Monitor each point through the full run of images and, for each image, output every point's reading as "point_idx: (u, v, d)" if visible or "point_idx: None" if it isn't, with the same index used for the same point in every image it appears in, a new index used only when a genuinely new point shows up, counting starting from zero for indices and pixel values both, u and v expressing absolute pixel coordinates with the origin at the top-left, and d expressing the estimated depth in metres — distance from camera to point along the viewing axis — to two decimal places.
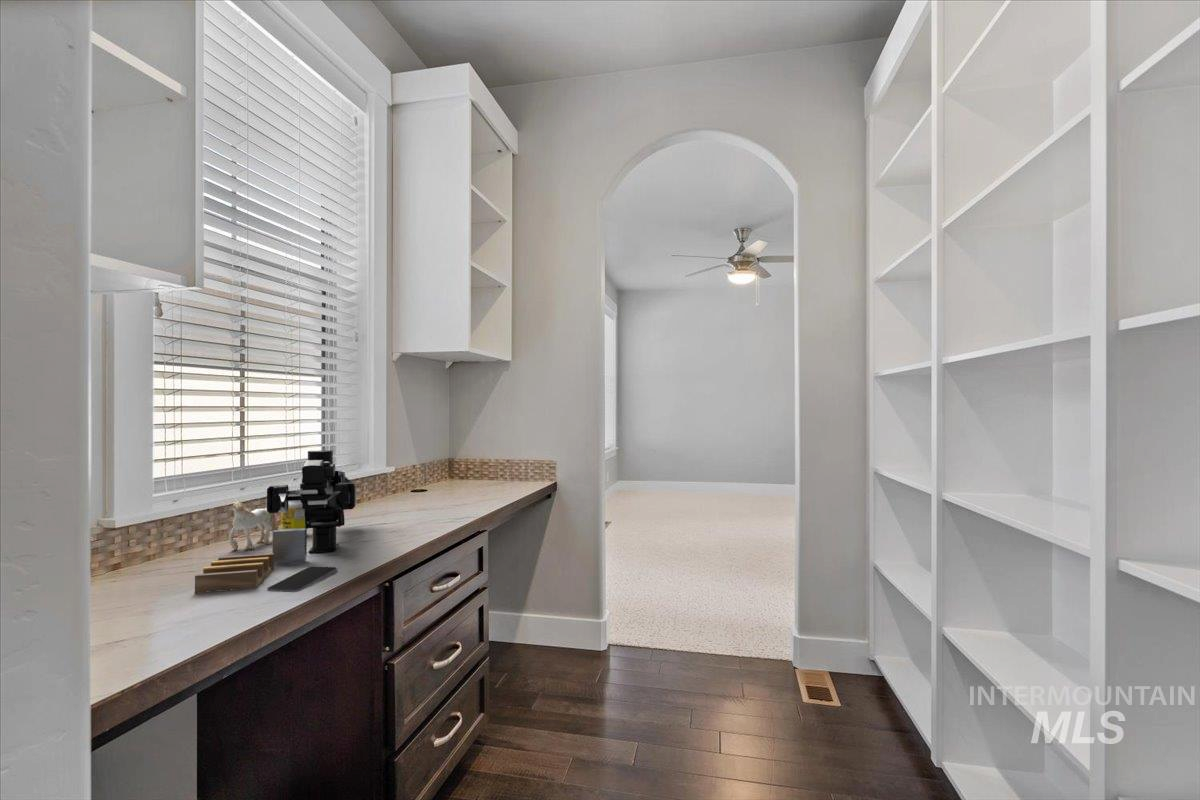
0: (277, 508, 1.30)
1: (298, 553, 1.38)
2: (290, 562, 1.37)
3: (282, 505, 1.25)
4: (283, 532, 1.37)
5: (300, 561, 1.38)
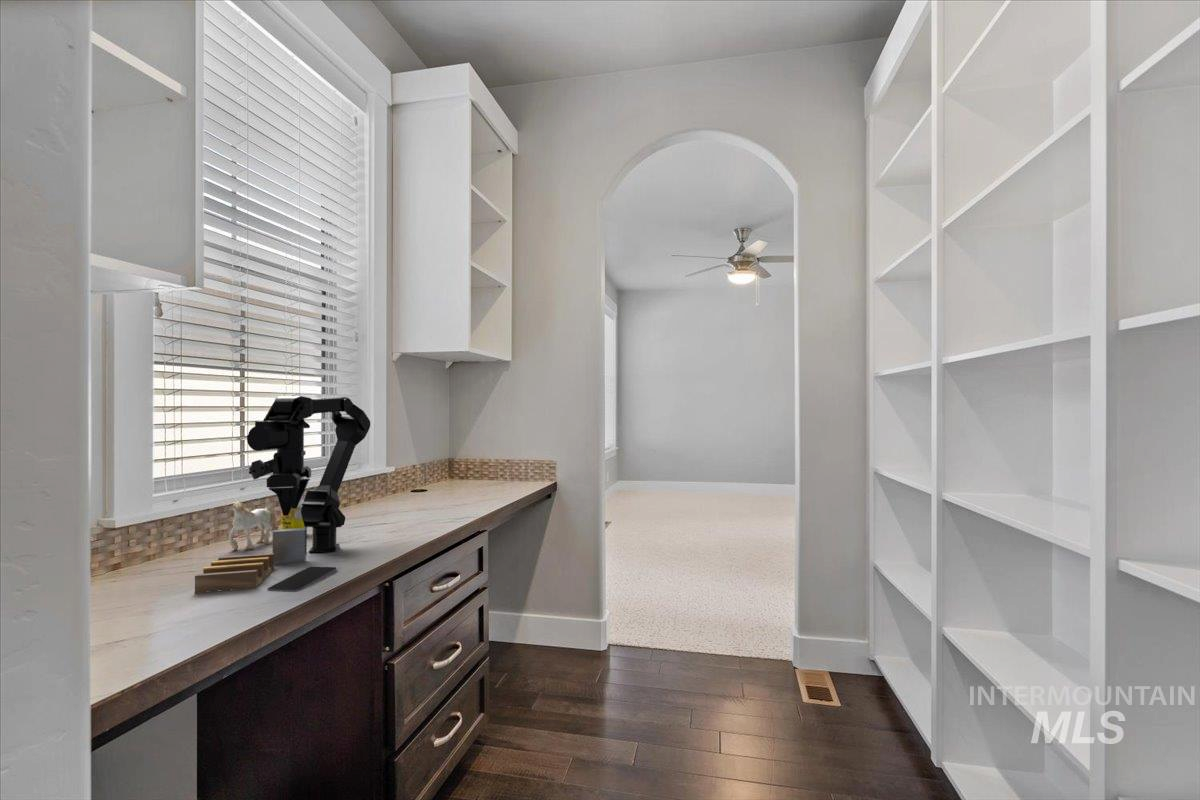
0: None
1: (298, 553, 1.38)
2: (290, 562, 1.37)
3: None
4: (283, 532, 1.37)
5: (300, 561, 1.38)
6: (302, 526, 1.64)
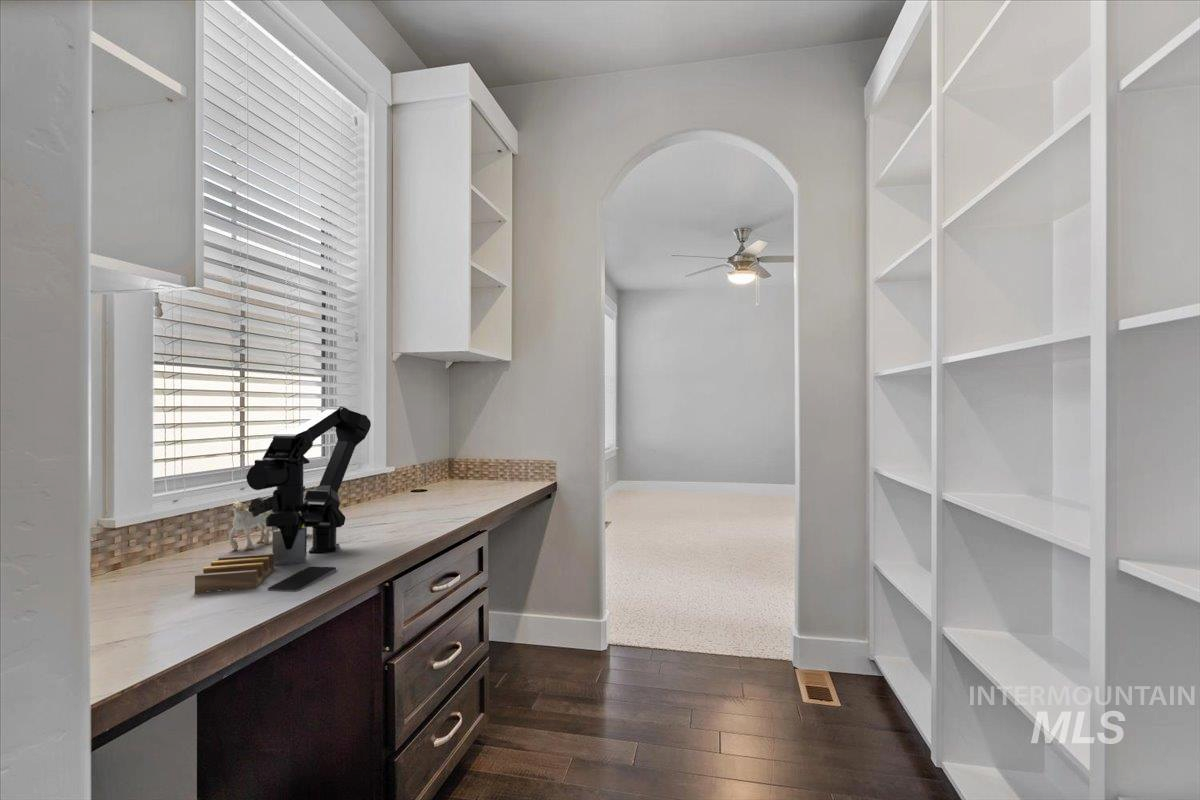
0: None
1: (298, 553, 1.38)
2: (290, 562, 1.37)
3: None
4: None
5: (300, 561, 1.38)
6: (302, 526, 1.64)
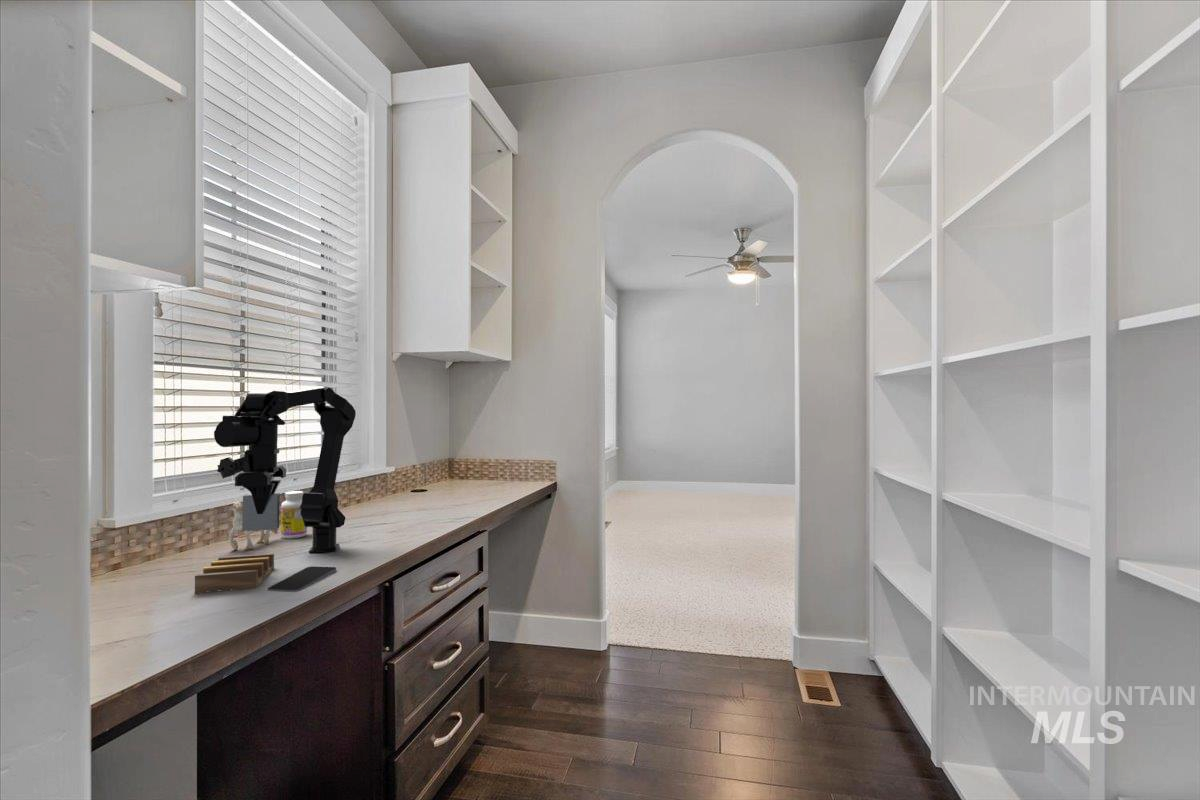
0: None
1: (270, 519, 1.30)
2: (261, 528, 1.30)
3: None
4: None
5: (272, 527, 1.30)
6: (302, 526, 1.64)
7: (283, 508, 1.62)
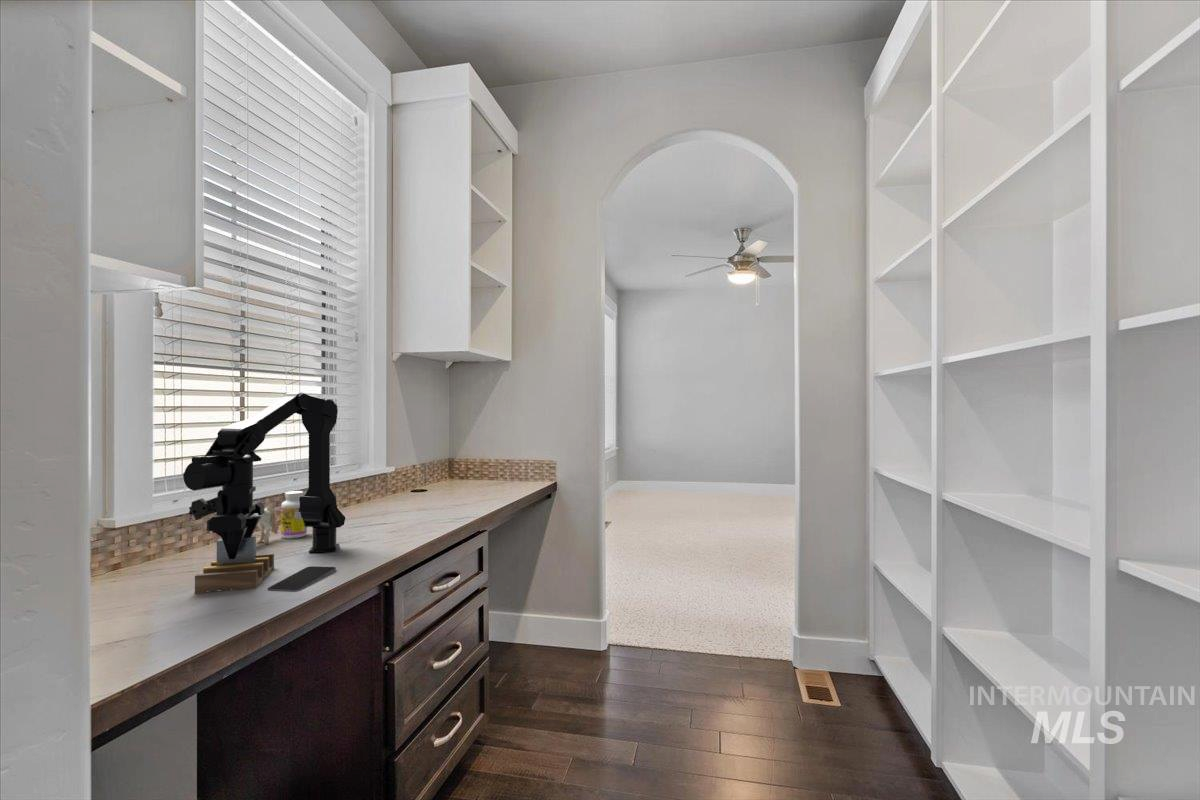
0: None
1: None
2: None
3: None
4: None
5: None
6: (302, 526, 1.64)
7: (283, 508, 1.62)
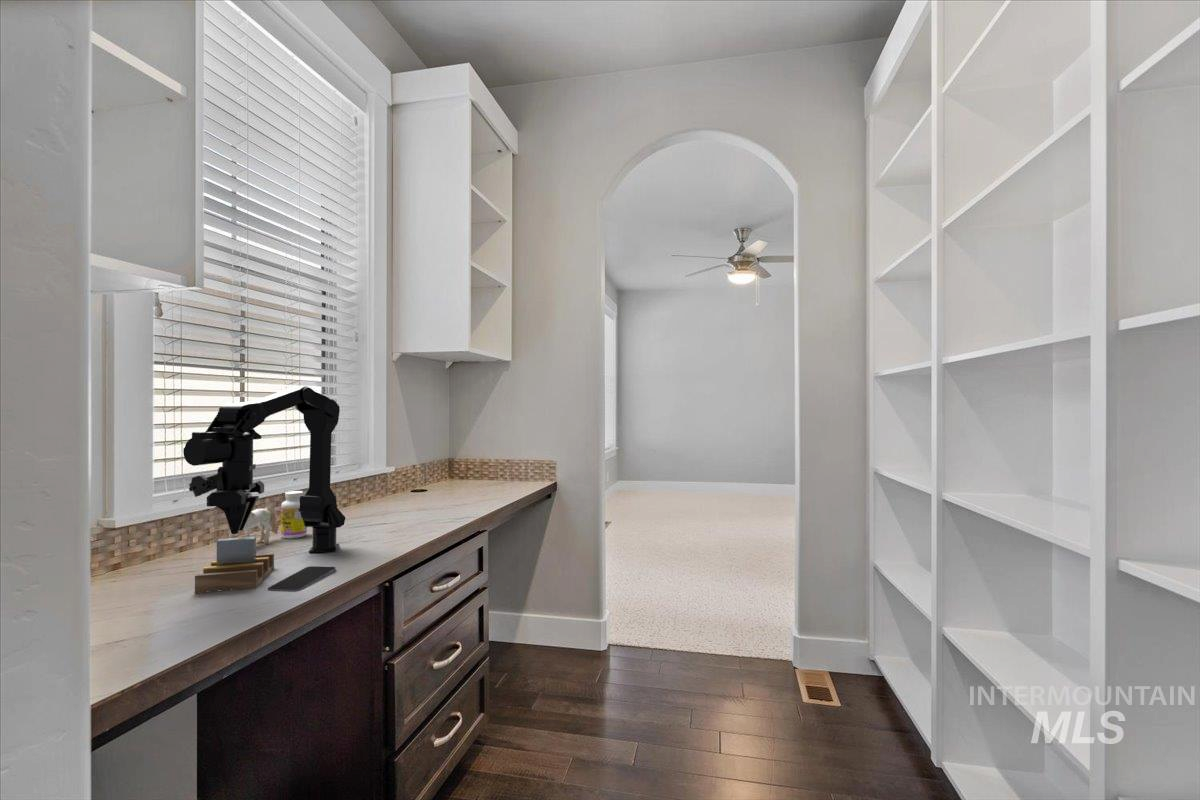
0: None
1: None
2: None
3: (241, 529, 1.27)
4: (229, 541, 1.24)
5: None
6: (302, 526, 1.64)
7: (283, 508, 1.62)
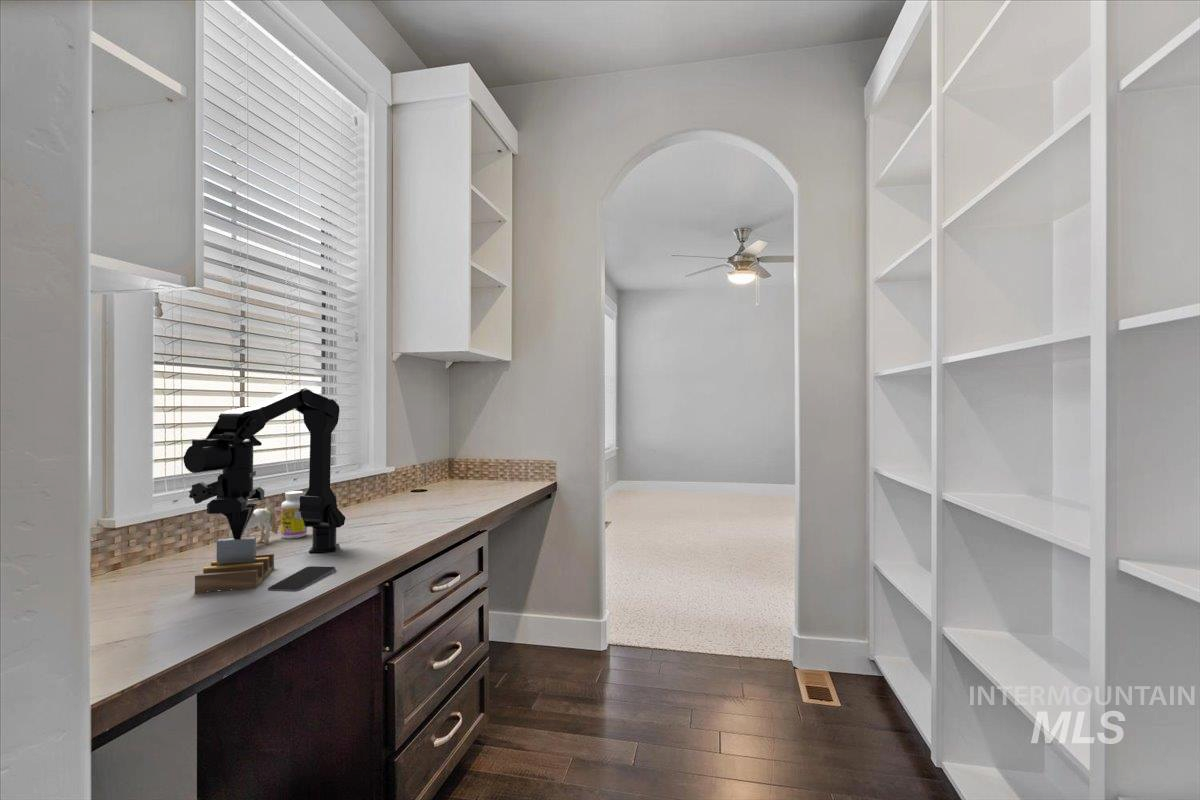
0: None
1: None
2: None
3: None
4: (228, 541, 1.24)
5: None
6: (302, 526, 1.64)
7: (283, 508, 1.62)
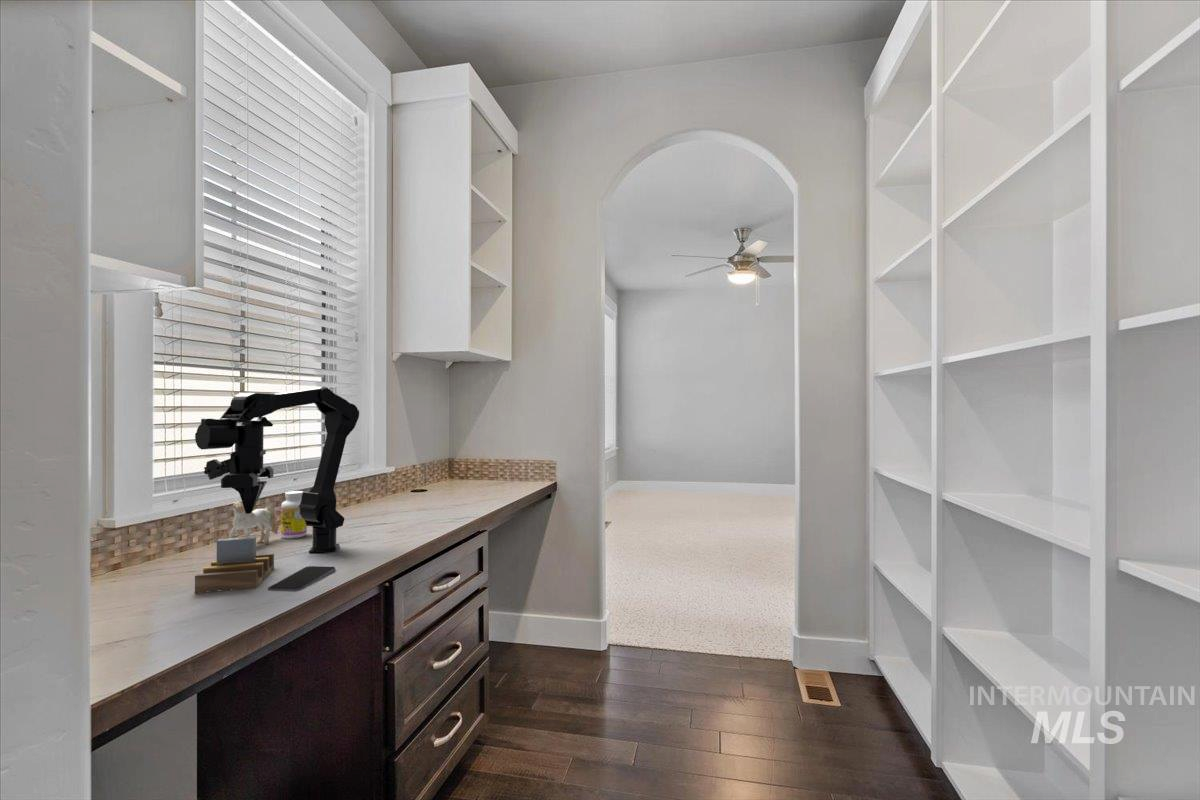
0: None
1: None
2: None
3: (250, 512, 1.33)
4: (229, 541, 1.24)
5: None
6: (302, 526, 1.64)
7: (283, 508, 1.62)
